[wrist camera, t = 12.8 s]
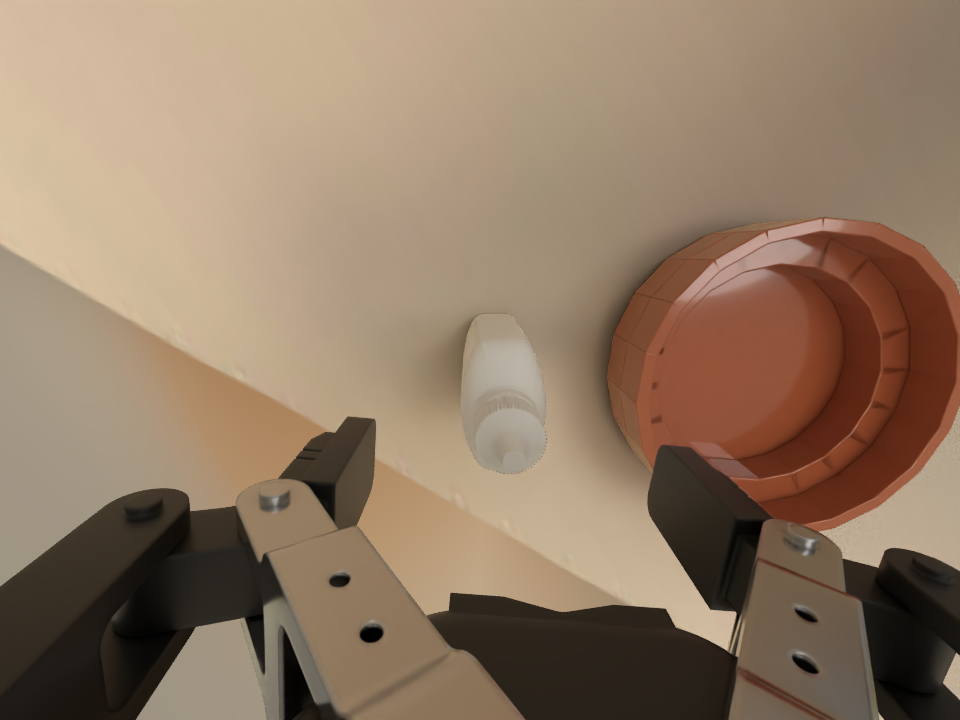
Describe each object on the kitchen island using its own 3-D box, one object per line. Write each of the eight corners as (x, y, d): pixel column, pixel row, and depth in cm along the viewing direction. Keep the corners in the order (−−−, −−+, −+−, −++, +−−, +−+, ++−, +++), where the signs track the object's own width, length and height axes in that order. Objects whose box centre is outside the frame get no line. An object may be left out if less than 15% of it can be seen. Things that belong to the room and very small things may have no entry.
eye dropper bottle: (436, 387, 25) (407, 505, 14) (483, 299, 24) (495, 346, 12) (504, 420, 26) (531, 562, 14) (553, 336, 25) (626, 415, 13)
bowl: (631, 211, 23) (673, 201, 18) (910, 239, 24) (1023, 237, 19) (587, 476, 27) (612, 526, 22) (830, 494, 27) (907, 547, 23)
